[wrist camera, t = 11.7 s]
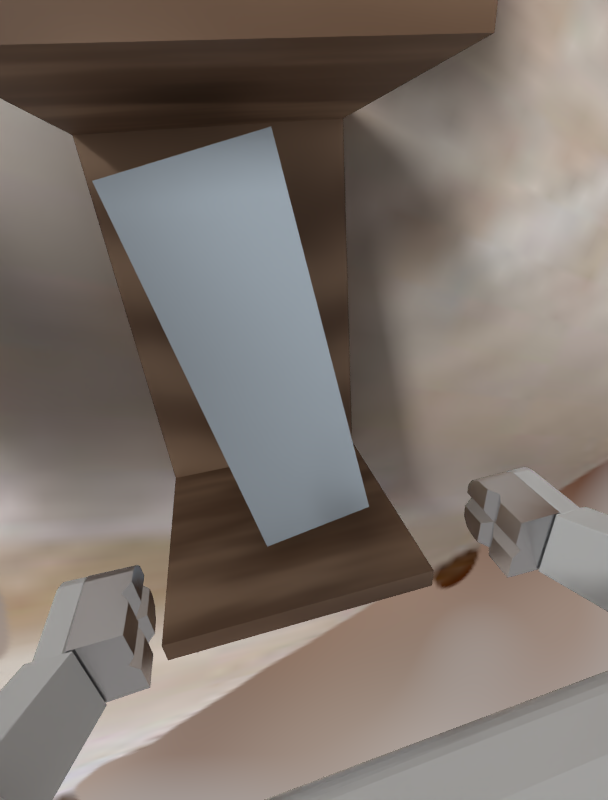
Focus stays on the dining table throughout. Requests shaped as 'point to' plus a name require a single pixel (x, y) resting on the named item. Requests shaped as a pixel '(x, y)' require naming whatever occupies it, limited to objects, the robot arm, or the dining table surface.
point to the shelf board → (243, 324)
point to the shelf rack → (316, 222)
